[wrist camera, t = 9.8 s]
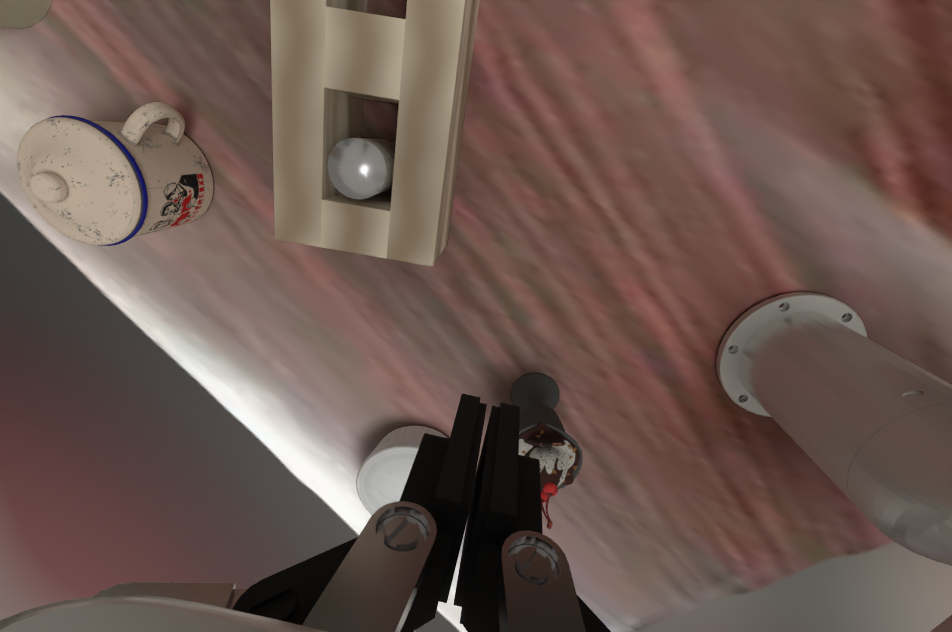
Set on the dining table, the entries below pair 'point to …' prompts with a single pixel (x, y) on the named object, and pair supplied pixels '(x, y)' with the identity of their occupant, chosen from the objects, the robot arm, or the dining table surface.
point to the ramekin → (389, 466)
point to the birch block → (340, 117)
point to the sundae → (545, 435)
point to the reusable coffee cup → (22, 12)
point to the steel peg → (362, 166)
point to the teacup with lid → (114, 175)
